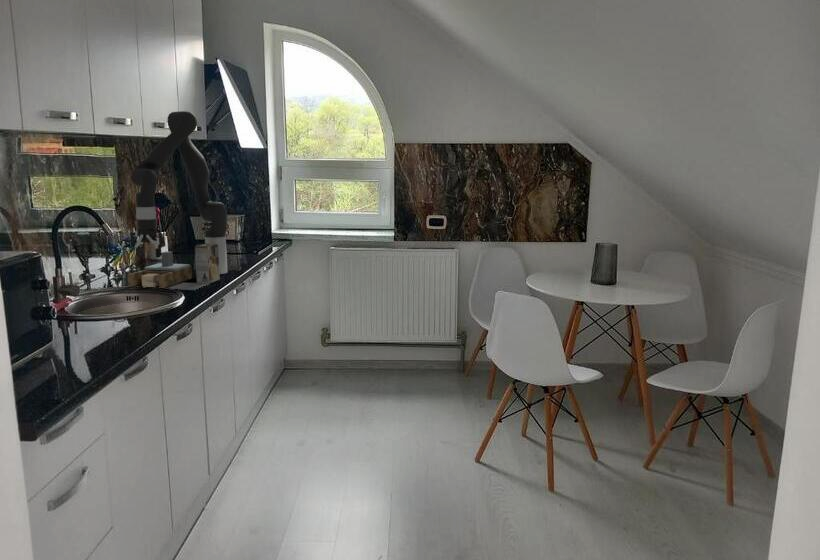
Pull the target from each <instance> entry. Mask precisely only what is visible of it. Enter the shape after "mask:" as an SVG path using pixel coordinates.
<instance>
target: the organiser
mask: <svg viewBox="0 0 820 560" xmlns="http://www.w3.org/2000/svg"><path fill="white" fill-rule="evenodd" d="M192 270H193V269H192V265H190V267H187V268H184V269H181V270H178V271H170V270H145V269H142V270H139V271H136V272H131V273H128V274H127V286H135V287H137V286H136V285H138V286H140V285H141V286H142V275H146V274H159V286H158V287H159V288H164V289H166V288H169V287H172V286H175V285H178V284H180V283H184V282H186V281H189V280H191V278H192V279H193V273H192ZM188 279H189V280H188ZM165 287H166V288H165Z"/></svg>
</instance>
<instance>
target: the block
mask: <svg viewBox="0 0 820 560" xmlns="http://www.w3.org/2000/svg"><path fill="white" fill-rule="evenodd" d="M142 286H143V287H142ZM156 286H157V287H159V274H146V275H142V284H141V287H142V288H146V287H154V288H156Z"/></svg>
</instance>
